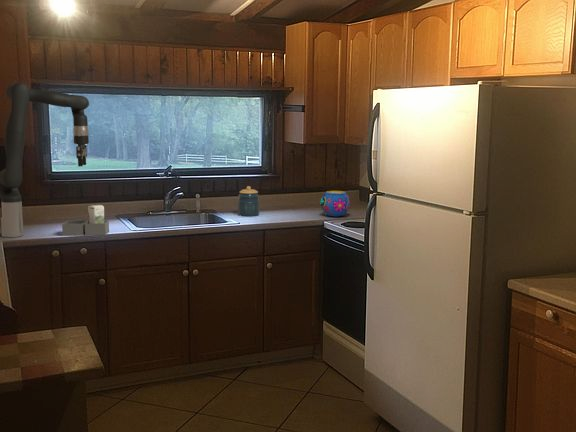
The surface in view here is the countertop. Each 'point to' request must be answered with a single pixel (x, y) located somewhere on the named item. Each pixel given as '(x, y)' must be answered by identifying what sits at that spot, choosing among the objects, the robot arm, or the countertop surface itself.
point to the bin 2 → (97, 229)
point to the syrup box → (96, 214)
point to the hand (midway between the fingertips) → (82, 165)
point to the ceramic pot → (335, 203)
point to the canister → (248, 202)
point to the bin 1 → (73, 228)
